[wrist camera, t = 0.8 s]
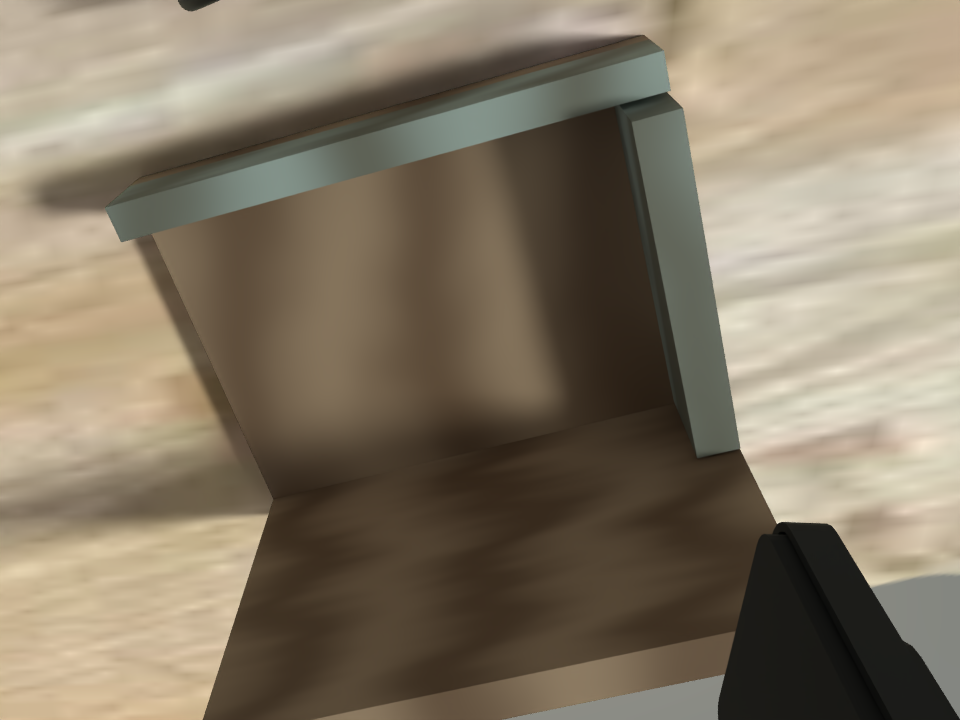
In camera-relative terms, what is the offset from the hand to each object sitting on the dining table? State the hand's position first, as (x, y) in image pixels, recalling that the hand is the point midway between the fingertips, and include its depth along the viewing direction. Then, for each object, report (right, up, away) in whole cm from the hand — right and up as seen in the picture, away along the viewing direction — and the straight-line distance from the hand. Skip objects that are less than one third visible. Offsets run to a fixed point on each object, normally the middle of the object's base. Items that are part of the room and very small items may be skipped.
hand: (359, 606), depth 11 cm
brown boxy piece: (0, +5, +23) cm, 24 cm away
